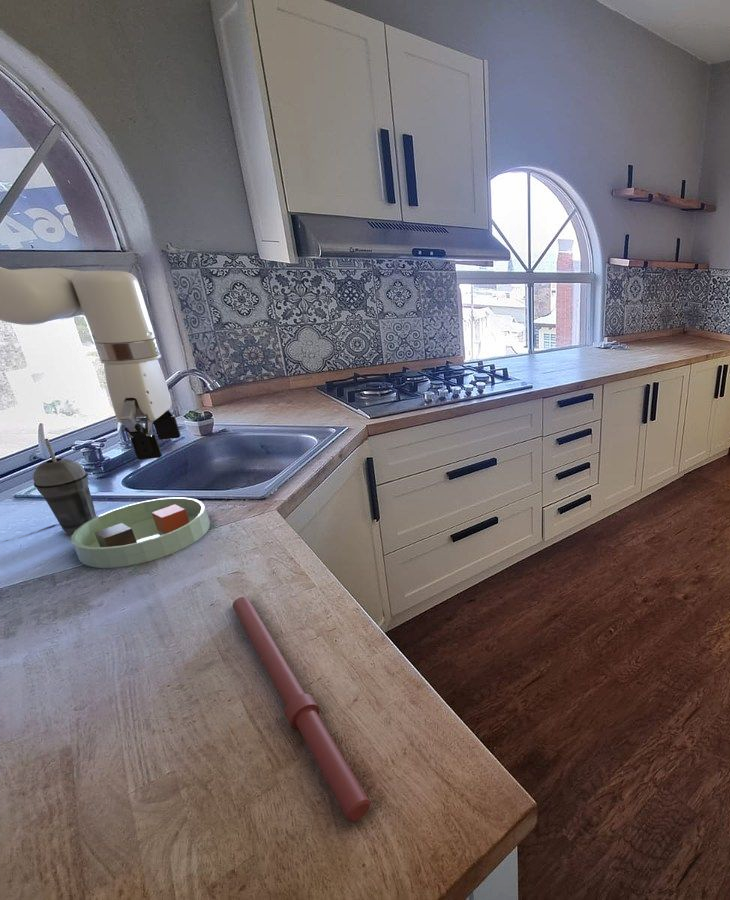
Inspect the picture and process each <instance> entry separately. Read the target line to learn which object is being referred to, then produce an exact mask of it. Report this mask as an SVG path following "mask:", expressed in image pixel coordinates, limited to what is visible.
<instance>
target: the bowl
mask: <svg viewBox="0 0 730 900" xmlns="http://www.w3.org/2000/svg"><path fill="white" fill-rule="evenodd" d="M172 505H178V506H180V507H182V508H184V509H185V510H186V513H187V516H188V519H189V523H187V524H186V525H184V526H182V527H180V528H178V529H176V530H174V531H172V532H169V533H167V534H164V533H162V532H160V531H159V530H157V527H156V524H155V521H154V518H153V516H152V512H155V511H157V510H160V509H163V508H166V507H169V506H172ZM120 523H123V524H124V525H126V526H128V527H130V528H132V530H133V533H134V536H135V538H136V541H137V543H133V544H128V545H122V546H113V547H100V545H99V543H98V540H97V538H96V535H95V532H97V531H100V530H103V529H106V528H109V527H112V526H114V525H117V524H120ZM210 526H211V521H210V517H209V514H208V512H207V508H206V506H205V504H204V503H203V502H202V501H200V500H199V499H197V498H192V497H183V496H182V497H181V496H180V497H177V496H176V497H175V496H173V497H162V498H155V499H149V500H143V501H139V502H136V503H131V504H127V505H123V506H121V507H118V508H115V509H112V510H109V511H107V512H104V513H102V514H98V515H96V517H95V518H93V519H92V520H90V521H88V522H86V523H84V524H83V525H82V526H80V527H79V528H78V529H77V530H75V532H74V533H73V535H70V539H71V545H72V546H73V549H74V551H75V553H76V556H77V558H78V560H79V562H80V563H82V564H83V565H85V566H88V567H91V568H97V569H98V568H99V569H113V568H114V569H115V568H122V567H129V566H135V565H141V564H143V563H147V562H152V561H155V560H158V559H161V558H164V557H167V556H169V555H170V556H171V555H172V554H175V553H177V552H179V551H182V550H183V549H185V548H187V547H189V546H191V545H192V544H194V543H196V542H197V541H199V540H200V539H201V538H202V537H203V536H204V535H206V533H207V532H208V531H209V529H210Z"/></svg>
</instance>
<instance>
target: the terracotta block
mask: <svg viewBox="0 0 730 900" xmlns="http://www.w3.org/2000/svg"><path fill="white" fill-rule="evenodd" d="M152 516H153V518H154V521H155V524H156V527H157V530H159V531H160V532H162V533H164V534H167V533H169V532H172V531H174V530H176V529H178V528H180V527H182V526H184V525H186V524H187V523H189V519H188V516H187V513H186V510H185V509H184V508H182V507H180V506H178V505H172V506H169V507H166V508H163V509H160V510H157V511H155V512H152Z"/></svg>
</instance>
